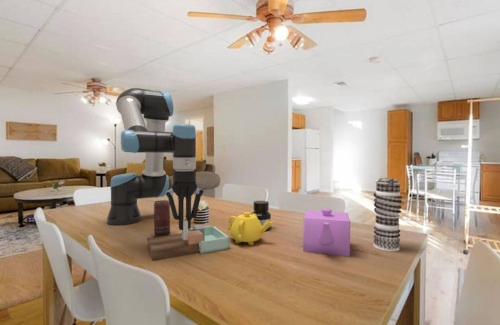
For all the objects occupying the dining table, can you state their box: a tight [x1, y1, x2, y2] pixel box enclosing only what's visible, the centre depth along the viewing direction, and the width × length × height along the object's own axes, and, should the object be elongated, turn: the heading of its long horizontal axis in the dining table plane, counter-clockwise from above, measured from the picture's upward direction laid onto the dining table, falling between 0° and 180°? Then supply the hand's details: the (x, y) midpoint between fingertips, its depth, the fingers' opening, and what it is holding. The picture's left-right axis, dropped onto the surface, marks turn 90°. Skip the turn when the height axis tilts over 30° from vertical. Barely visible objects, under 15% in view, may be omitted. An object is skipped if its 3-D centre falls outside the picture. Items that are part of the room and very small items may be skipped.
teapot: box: [226, 211, 273, 246], centre depth 101 cm, size 14×14×11 cm
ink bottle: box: [250, 200, 272, 231], centre depth 118 cm, size 10×9×12 cm
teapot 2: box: [302, 208, 351, 257], centre depth 94 cm, size 15×25×14 cm, turn 163°
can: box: [153, 199, 171, 237], centre depth 108 cm, size 6×6×14 cm
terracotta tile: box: [185, 230, 203, 245], centre depth 91 cm, size 5×5×3 cm
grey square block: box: [192, 224, 205, 241], centre depth 100 cm, size 5×5×3 cm
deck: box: [147, 232, 200, 261], centre depth 92 cm, size 14×15×3 cm
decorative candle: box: [373, 177, 403, 252], centre depth 95 cm, size 9×9×25 cm
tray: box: [188, 225, 231, 255], centre depth 98 cm, size 17×10×4 cm, turn 28°
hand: (184, 238), depth 90 cm, fingers closed
